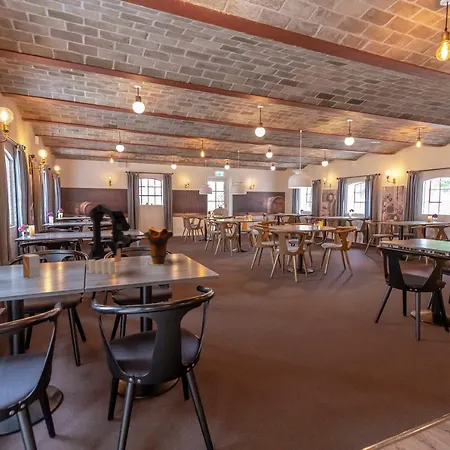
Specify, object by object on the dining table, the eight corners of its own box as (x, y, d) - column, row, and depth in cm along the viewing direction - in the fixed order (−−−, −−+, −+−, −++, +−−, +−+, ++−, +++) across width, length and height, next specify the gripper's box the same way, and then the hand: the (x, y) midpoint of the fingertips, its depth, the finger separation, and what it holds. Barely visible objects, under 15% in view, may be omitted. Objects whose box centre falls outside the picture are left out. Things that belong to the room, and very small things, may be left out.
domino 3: (106, 272, 204) (105, 259, 204) (108, 272, 204) (108, 260, 203) (101, 274, 199) (101, 261, 199) (104, 274, 199) (103, 261, 198)
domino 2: (99, 271, 205) (99, 259, 204) (102, 272, 205) (101, 259, 204) (95, 273, 200) (94, 261, 200) (97, 273, 200) (97, 261, 199)
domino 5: (118, 260, 202) (118, 248, 201) (121, 260, 202) (120, 248, 201) (114, 262, 197) (114, 249, 197) (116, 262, 197) (116, 249, 196)
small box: (23, 276, 193) (22, 255, 192) (34, 274, 198) (33, 253, 197) (29, 278, 188) (28, 256, 187) (40, 276, 194) (39, 255, 193)
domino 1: (93, 271, 206) (93, 259, 205) (95, 271, 206) (95, 259, 205) (88, 273, 201) (88, 260, 200) (91, 273, 201) (90, 260, 200)
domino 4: (112, 272, 203) (112, 260, 203) (114, 272, 203) (114, 260, 203) (108, 274, 199) (107, 261, 198) (110, 274, 198) (110, 261, 198)
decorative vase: (170, 258, 248) (169, 223, 245) (175, 266, 227) (174, 227, 223) (142, 260, 242) (141, 224, 238) (145, 268, 220) (144, 228, 216)
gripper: (121, 232, 187) (122, 258, 188) (135, 229, 206) (136, 253, 207) (104, 231, 189) (104, 257, 191) (120, 229, 208) (120, 252, 209)
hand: (117, 255), depth 199 cm, fingers closed on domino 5, 5 cm apart
